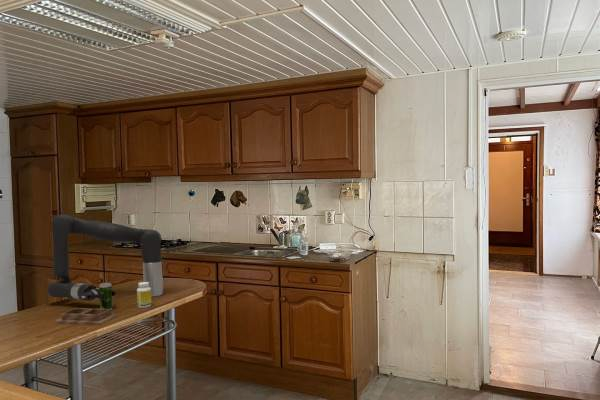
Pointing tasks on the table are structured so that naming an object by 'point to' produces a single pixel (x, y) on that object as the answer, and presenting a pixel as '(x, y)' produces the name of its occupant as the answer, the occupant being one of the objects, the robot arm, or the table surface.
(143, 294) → the pill bottle
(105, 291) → the beer can
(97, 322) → the rack
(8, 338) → the table surface
